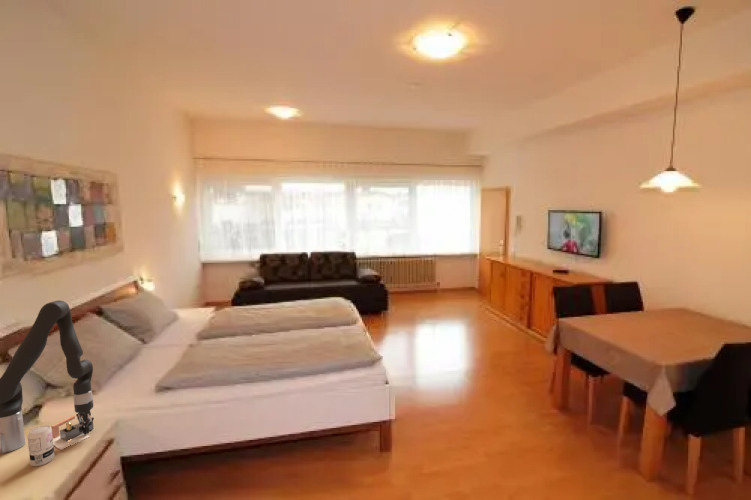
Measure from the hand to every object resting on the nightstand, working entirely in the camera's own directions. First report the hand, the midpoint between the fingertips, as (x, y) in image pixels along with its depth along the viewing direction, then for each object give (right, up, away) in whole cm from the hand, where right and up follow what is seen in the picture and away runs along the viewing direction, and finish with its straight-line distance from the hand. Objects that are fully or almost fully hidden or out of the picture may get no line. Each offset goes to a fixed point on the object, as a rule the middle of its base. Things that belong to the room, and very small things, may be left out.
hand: (86, 433), depth 193 cm
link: (-5, -1, +1) cm, 5 cm away
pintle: (-7, -1, -2) cm, 7 cm away
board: (-7, -1, -3) cm, 8 cm away
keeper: (-13, -1, +2) cm, 13 cm away
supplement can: (-4, -3, -20) cm, 21 cm away
